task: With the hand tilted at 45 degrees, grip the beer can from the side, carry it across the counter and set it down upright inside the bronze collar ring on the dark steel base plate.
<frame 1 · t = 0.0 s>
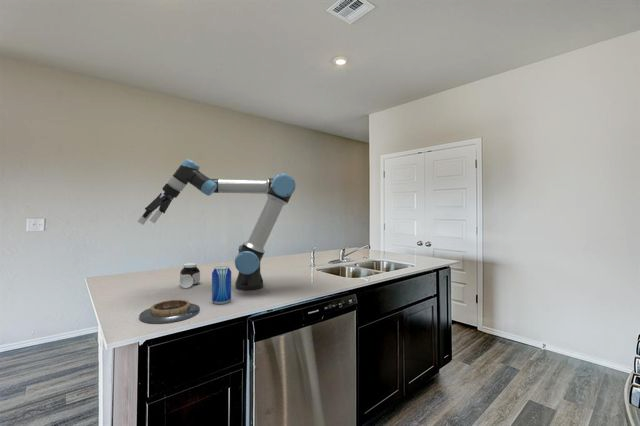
hand: (146, 222, 145), 36 cm above the counter, tool tilted 35°, fingers open, 13 cm apart
beer can: (221, 302, 139), on the counter
collar plate: (170, 313, 123), on the counter
spread jar: (189, 286, 167), on the counter
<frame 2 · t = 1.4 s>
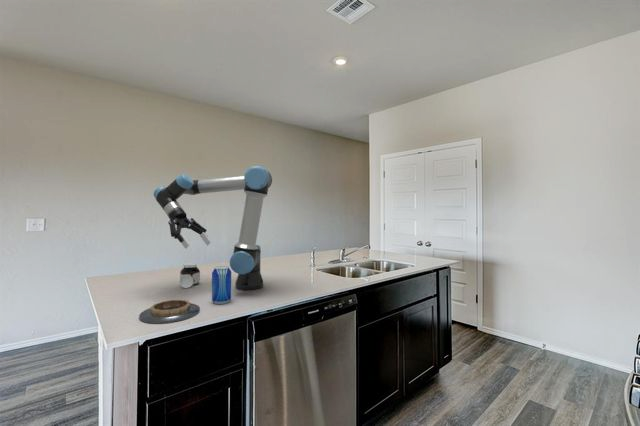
hand: (198, 245, 144), 25 cm above the counter, tool tilted 45°, fingers open, 13 cm apart
nothing on the counter moved.
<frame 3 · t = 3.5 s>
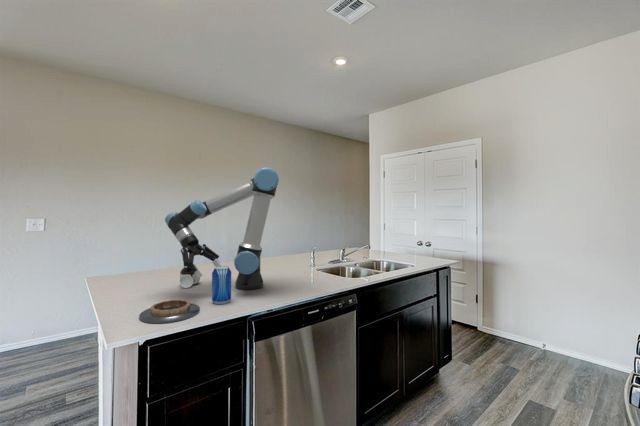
hand: (211, 273, 140), 13 cm above the counter, tool tilted 45°, fingers open, 13 cm apart
nothing on the counter moved.
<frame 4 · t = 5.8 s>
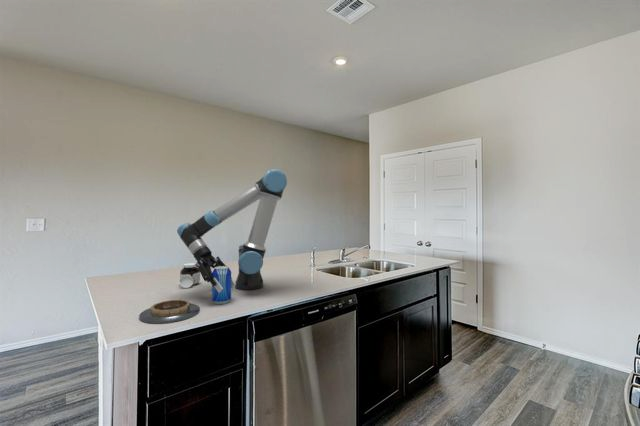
hand: (227, 288, 138), 7 cm above the counter, tool tilted 45°, fingers closed on beer can, 8 cm apart
beer can: (221, 302, 139), on the counter, touching gripper
everything else where it was.
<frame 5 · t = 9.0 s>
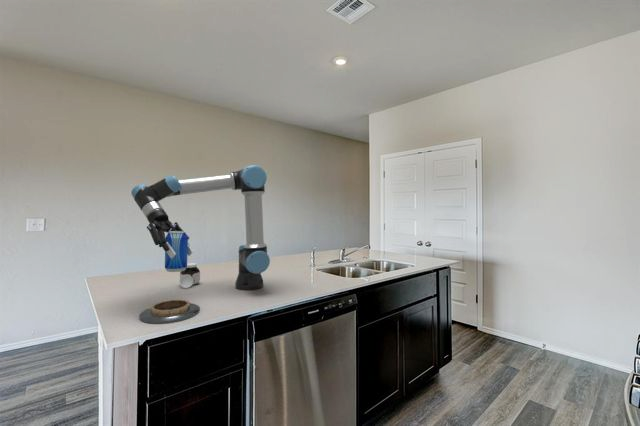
hand: (182, 254, 124), 24 cm above the counter, tool tilted 45°, fingers closed on beer can, 8 cm apart
beer can: (176, 270, 125), point 17 cm above the counter, touching gripper
everything else where it was.
when the fingers open (9 cm above the counter, at t = 12.3 s): beer can drops 1 cm, resting on collar plate.
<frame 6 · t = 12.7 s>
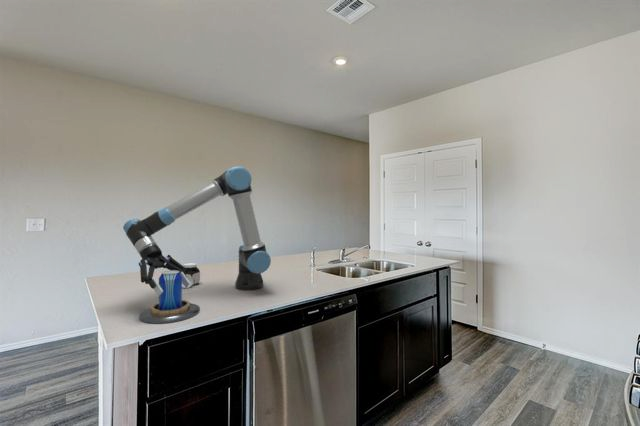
hand: (175, 289, 122), 10 cm above the counter, tool tilted 45°, fingers open, 13 cm apart
beer can: (170, 311, 123), point 1 cm above the counter, touching collar plate
everything else where it was.
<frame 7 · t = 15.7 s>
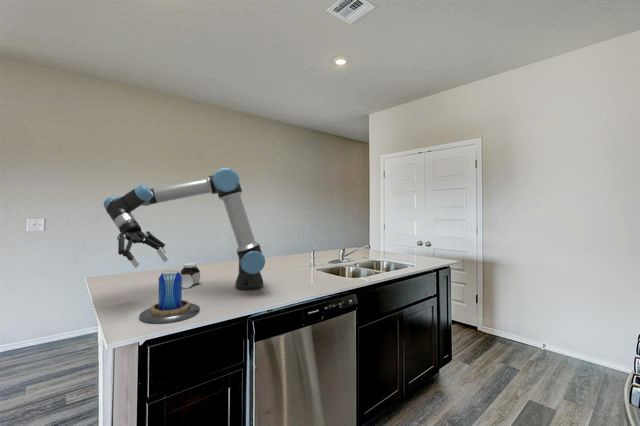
hand: (152, 262, 127), 20 cm above the counter, tool tilted 45°, fingers open, 13 cm apart
nothing on the counter moved.
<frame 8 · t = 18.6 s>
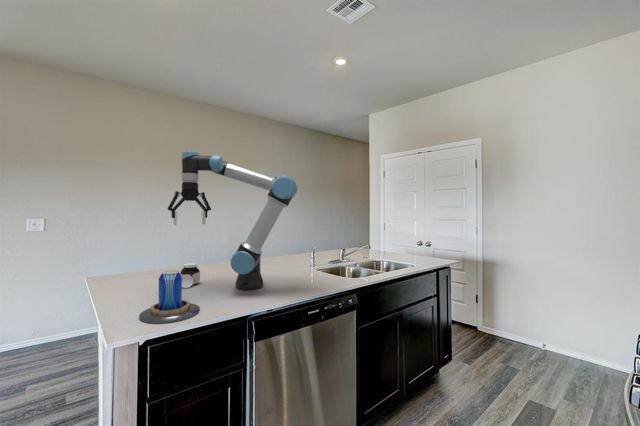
hand: (189, 224, 152), 35 cm above the counter, tool pointing down, fingers open, 13 cm apart
nothing on the counter moved.
at the end: beer can 0.2 cm off-centre on the collar plate, point 0.8 cm above the collar plate's base; beer can tilted 0°; the gripper is holding nothing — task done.
